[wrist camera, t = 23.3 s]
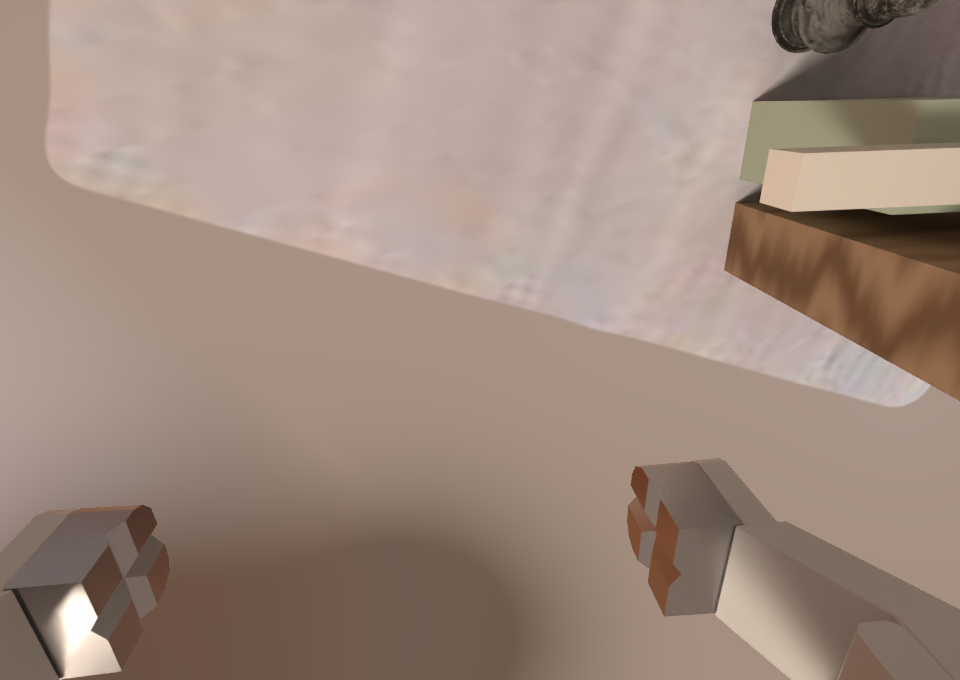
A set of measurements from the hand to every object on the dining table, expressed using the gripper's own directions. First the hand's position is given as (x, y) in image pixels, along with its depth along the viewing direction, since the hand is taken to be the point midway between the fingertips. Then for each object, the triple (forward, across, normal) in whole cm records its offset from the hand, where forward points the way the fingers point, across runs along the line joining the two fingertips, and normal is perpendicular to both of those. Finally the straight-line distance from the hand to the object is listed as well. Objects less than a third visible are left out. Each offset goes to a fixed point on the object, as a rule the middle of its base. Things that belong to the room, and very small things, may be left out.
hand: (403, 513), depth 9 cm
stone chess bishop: (+37, -30, -12) cm, 49 cm away
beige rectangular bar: (+21, -29, -2) cm, 36 cm away
